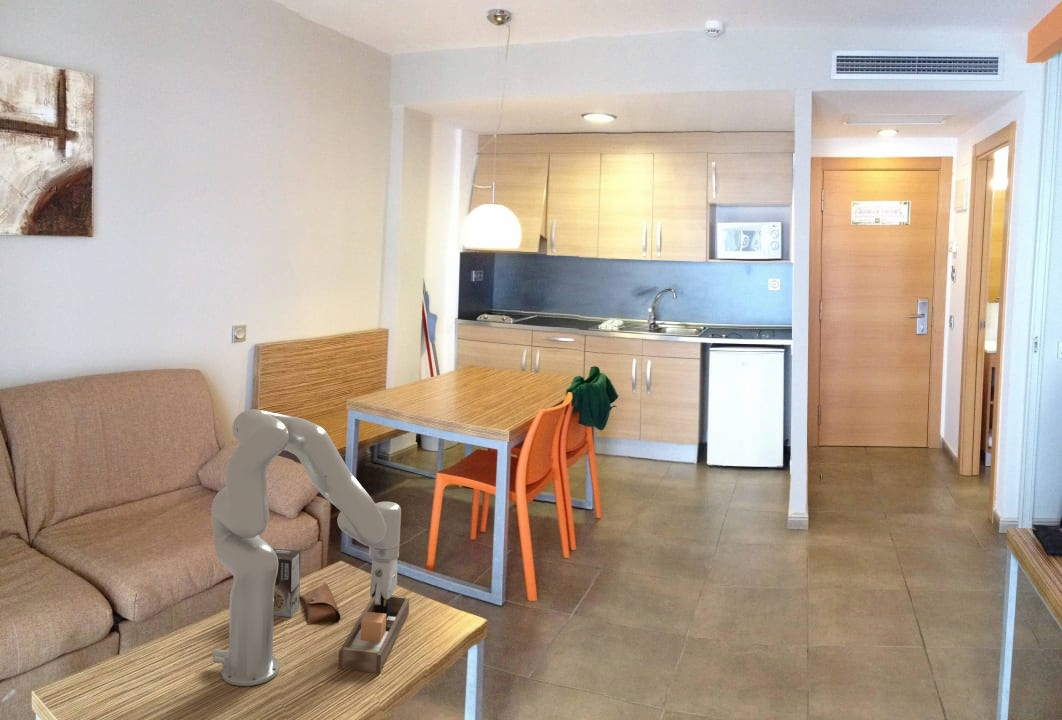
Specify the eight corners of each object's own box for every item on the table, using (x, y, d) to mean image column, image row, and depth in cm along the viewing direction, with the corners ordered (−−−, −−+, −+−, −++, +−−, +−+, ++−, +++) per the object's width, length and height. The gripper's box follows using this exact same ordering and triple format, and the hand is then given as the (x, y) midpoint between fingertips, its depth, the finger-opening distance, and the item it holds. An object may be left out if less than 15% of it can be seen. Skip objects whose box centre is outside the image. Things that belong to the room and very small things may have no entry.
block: (360, 640, 195) (361, 620, 195) (366, 630, 200) (366, 611, 200) (380, 642, 195) (381, 623, 194) (385, 632, 200) (386, 613, 199)
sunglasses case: (297, 595, 222) (310, 575, 222) (318, 605, 225) (331, 584, 225) (308, 625, 206) (322, 603, 206) (331, 635, 209) (345, 613, 209)
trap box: (338, 668, 187) (339, 648, 186) (372, 610, 216) (373, 593, 215) (380, 673, 186) (381, 653, 185) (408, 614, 216) (409, 596, 215)
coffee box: (300, 607, 215) (302, 550, 213) (290, 618, 209) (292, 559, 207) (268, 603, 216) (269, 547, 214) (257, 614, 210) (258, 556, 208)
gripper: (391, 563, 195) (388, 633, 198) (405, 541, 210) (402, 606, 212) (361, 560, 195) (358, 630, 198) (377, 538, 210) (374, 604, 213)
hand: (381, 618), depth 205 cm, fingers closed
